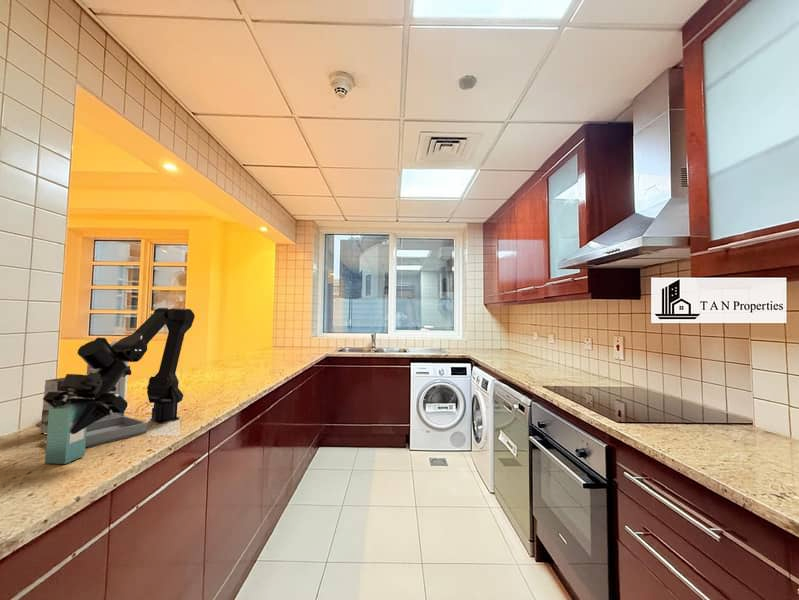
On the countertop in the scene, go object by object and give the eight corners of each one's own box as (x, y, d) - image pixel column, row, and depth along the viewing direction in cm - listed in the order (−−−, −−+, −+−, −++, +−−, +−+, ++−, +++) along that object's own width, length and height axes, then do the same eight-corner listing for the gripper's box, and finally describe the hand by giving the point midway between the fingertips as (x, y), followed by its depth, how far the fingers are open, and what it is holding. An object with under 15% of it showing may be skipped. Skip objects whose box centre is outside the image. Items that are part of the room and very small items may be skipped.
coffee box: (55, 436, 101) (60, 381, 102) (39, 434, 102) (43, 379, 103) (89, 427, 110) (93, 376, 111) (73, 425, 111) (77, 375, 112)
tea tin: (65, 454, 88) (69, 403, 89) (84, 455, 88) (88, 403, 88) (44, 463, 83) (49, 408, 84) (65, 463, 83) (69, 409, 83)
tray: (123, 424, 113) (124, 415, 113) (146, 432, 107) (147, 422, 107) (49, 441, 97) (49, 430, 97) (70, 451, 91) (71, 440, 91)
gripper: (53, 360, 91) (-1, 414, 79) (121, 362, 90) (77, 417, 78) (80, 384, 98) (34, 437, 87) (143, 386, 97) (105, 440, 86)
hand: (61, 432), depth 84 cm, fingers closed on tea tin, 5 cm apart
